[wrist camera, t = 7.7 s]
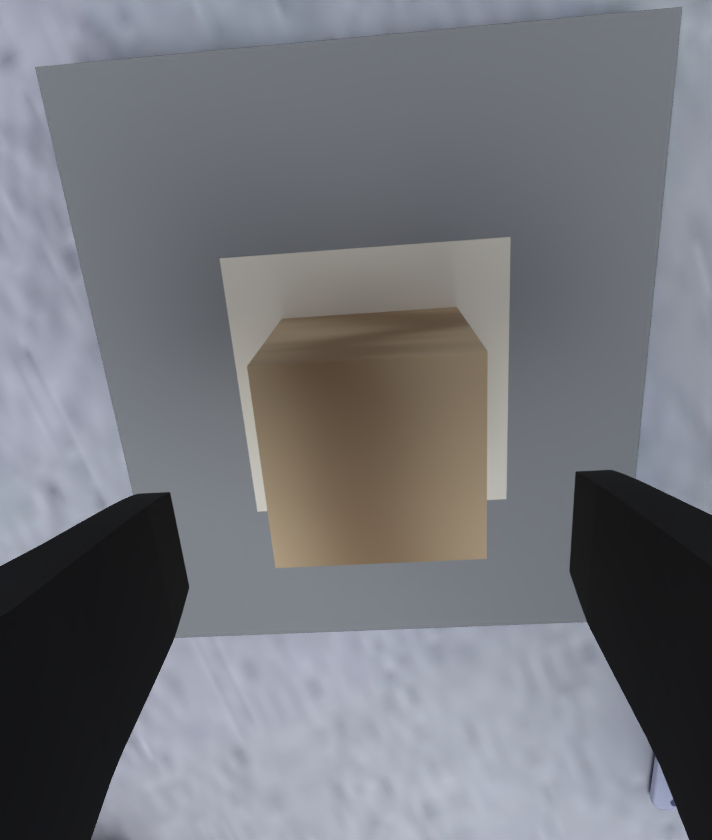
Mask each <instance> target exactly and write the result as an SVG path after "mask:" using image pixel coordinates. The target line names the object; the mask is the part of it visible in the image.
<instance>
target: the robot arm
mask: <svg viewBox="0 0 712 840" xmlns="http://www.w3.org/2000/svg"><path fill="white" fill-rule="evenodd" d="M569 572H570V575H571V578H572V581H573V584H574V587H575V590H576V593H577V596H578V599H579V602H580V604H581V607H582V610H583V613H584V615H585V618H586V621H587V623H588V625H589V627H590V629H591V631H592V633H593V635H594V637H595V639H596V641H597V643H598V645H599V647H600V649H601V651H602V652H603V654H604V656H605V658H606V660H607V662H608V664H609V666H610V668H611V670H612V672H613V674H614V676H615V678H616V680H617V681H618V683H619V685H620V687H621V689H622V691H623V693H624V695H625V697H626V699H627V701H628V703H629V704H630V706H631V708H632V710H633V712H634V714H635V716H636V718H637V720H638V722H639V724H640V726H641V728H642V729H643V731H644V733H645V735H646V737H647V739H648V741H649V744H650V746H651V748H652V750H653V752H654V754H655V761H654V768H653V776H652V783H651V790H650V799H651V801H652V803H653V805H654V806H655V807H656V808H658V809H661V810H676V809H677V810H678V812H679V815H680V817H681V820H682V822H683V825H684V827H685V830H686V832H687V835H688V838H689V840H712V515H710V514H708V513H706V512H704V511H702V510H700V509H698V508H695V507H693V506H691V505H689V504H687V503H685V502H683V501H681V500H679V499H677V498H675V497H672V496H670V495H668V494H666V493H664V492H662V491H660V490H658V489H656V488H654V487H652V486H650V485H648V484H645V483H643V482H641V481H639V480H637V479H634V478H632V477H630V476H628V475H625V474H623V473H620V472H617V471H614V470H595V471H576V472H575V487H574V504H573V520H572V536H571V552H570V568H569ZM188 591H189V582H188V578H187V573H186V568H185V563H184V558H183V553H182V548H181V543H180V538H179V533H178V528H177V523H176V518H175V513H174V508H173V504H172V499H171V494H170V492H161V493H141V494H135V495H133V496H130V497H128V498H125V499H123V500H121V501H119V502H117V503H115V504H113V505H111V506H109V507H108V508H106V509H104V510H102V511H100V512H98V513H97V514H95V515H93V516H91V517H90V518H88V519H86V520H84V521H82V522H81V523H79V524H77V525H75V526H74V527H72V528H70V529H68V530H67V531H65V532H63V533H61V534H59V535H58V536H56V537H54V538H52V539H51V540H49V541H47V542H45V543H43V544H42V545H40V546H38V547H36V548H34V549H32V550H30V551H28V552H26V553H25V554H23V555H21V556H19V557H17V558H15V559H13V560H11V561H9V562H7V563H6V564H4V565H2V566H0V840H91V837H92V834H93V831H94V828H95V825H96V823H97V820H98V817H99V814H100V811H101V808H102V805H103V802H104V799H105V796H106V793H107V790H108V788H109V785H110V782H111V779H112V776H113V774H114V772H115V769H116V767H117V764H118V762H119V759H120V757H121V755H122V752H123V750H124V748H125V745H126V743H127V741H128V739H129V737H130V735H131V732H132V730H133V728H134V726H135V724H136V722H137V719H138V717H139V715H140V713H141V711H142V709H143V706H144V704H145V702H146V700H147V698H148V696H149V693H150V691H151V689H152V687H153V685H154V683H155V680H156V678H157V676H158V674H159V672H160V669H161V667H162V665H163V663H164V660H165V658H166V656H167V654H168V652H169V649H170V647H171V645H172V642H173V640H174V638H175V635H176V632H177V629H178V626H179V622H180V619H181V616H182V613H183V609H184V605H185V602H186V598H187V594H188Z"/></svg>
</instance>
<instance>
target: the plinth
mask: <svg viewBox="0 0 712 840" xmlns="http://www.w3.org/2000/svg"><path fill="white" fill-rule="evenodd" d="M681 15H682V7H676V8H665V9H654V10H643V11H633V12H622V13H611V14H601V15H590V16H579V17H568V18H558V19H547V20H536V21H525V22H515V23H504V24H493V25H483V26H472V27H461V28H450V29H440V30H429V31H418V32H407V33H397V34H386V35H375V36H364V37H354V38H343V39H332V40H322V41H311V42H300V43H289V44H279V45H268V46H257V47H246V48H236V49H225V50H214V51H204V52H193V53H182V54H171V55H161V56H150V57H139V58H128V59H118V60H107V61H96V62H85V63H75V64H64V65H53V66H43V67H35V69H36V73H37V78H38V82H39V87H40V91H41V95H42V100H43V104H44V108H45V113H46V117H47V121H48V126H49V130H50V134H51V139H52V143H53V148H54V152H55V156H56V161H57V165H58V169H59V174H60V178H61V182H62V187H63V191H64V195H65V200H66V204H67V209H68V213H69V217H70V222H71V226H72V230H73V235H74V239H75V243H76V248H77V252H78V256H79V261H80V265H81V269H82V274H83V278H84V283H85V287H86V291H87V296H88V300H89V304H90V309H91V313H92V317H93V322H94V326H95V330H96V335H97V339H98V344H99V348H100V352H101V357H102V361H103V365H104V370H105V374H106V378H107V383H108V387H109V391H110V396H111V400H112V405H113V409H114V413H115V418H116V422H117V426H118V431H119V435H120V439H121V444H122V448H123V452H124V457H125V461H126V465H127V470H128V474H129V479H130V483H131V487H132V492H133V495H135V494H141V493H161V492H170V494H171V499H172V504H173V508H174V513H175V518H176V523H177V528H178V533H179V538H180V543H181V548H182V553H183V558H184V563H185V568H186V573H187V578H188V582H189V591H188V594H187V598H186V602H185V605H184V609H183V613H182V616H181V619H180V622H179V626H178V629H177V632H176V635H175V638H185V637H210V636H236V635H262V634H287V633H313V632H339V631H365V630H390V629H416V628H442V627H467V626H493V625H519V624H545V623H570V622H587V621H586V618H585V615H584V613H583V610H582V607H581V604H580V602H579V599H578V596H577V593H576V590H575V587H574V584H573V581H572V578H571V575H570V572H569V568H570V552H571V536H572V520H573V504H574V487H575V472H576V471H595V470H614V471H617V472H620V473H623V474H625V475H628V476H630V477H632V478H634V479H635V476H636V466H637V456H638V446H639V436H640V426H641V416H642V406H643V396H644V386H645V376H646V366H647V356H648V346H649V336H650V326H651V316H652V306H653V296H654V286H655V276H656V266H657V256H658V246H659V236H660V226H661V216H662V206H663V196H664V185H665V175H666V165H667V155H668V145H669V135H670V125H671V115H672V105H673V95H674V85H675V75H676V65H677V55H678V45H679V35H680V25H681ZM450 307H457V308H458V309H459V311H460V312H461V314H462V315H463V316H464V318H465V319H466V321H467V322H468V324H469V325H470V327H471V328H472V329H473V331H474V332H475V334H476V335H477V337H478V338H479V340H480V341H481V342H482V344H483V345H484V347H485V348H486V350H487V351H488V374H487V559H474V560H451V561H428V562H405V563H383V564H360V565H337V566H315V567H292V568H275V561H274V554H273V547H272V540H271V533H270V526H269V519H268V512H267V505H266V498H265V491H264V484H263V477H262V470H261V463H260V456H259V448H258V441H257V434H256V427H255V420H254V413H253V406H252V399H251V392H250V385H249V378H248V371H247V365H248V364H249V363H250V361H251V360H252V359H253V357H254V356H255V355H256V353H257V352H258V350H259V349H260V348H261V346H262V345H263V344H264V342H265V341H266V340H267V338H268V337H269V335H270V334H271V333H272V331H273V330H274V329H275V327H276V326H277V324H278V323H279V322H280V320H281V319H286V318H301V317H316V316H331V315H345V314H360V313H375V312H390V311H405V310H420V309H435V308H450Z"/></svg>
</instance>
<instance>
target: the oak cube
mask: <svg viewBox="0 0 712 840" xmlns="http://www.w3.org/2000/svg"><path fill="white" fill-rule="evenodd" d="M247 371H248V378H249V385H250V392H251V399H252V406H253V413H254V420H255V427H256V434H257V441H258V448H259V456H260V463H261V470H262V477H263V484H264V491H265V498H266V505H267V512H268V519H269V526H270V533H271V540H272V547H273V554H274V561H275V568H292V567H315V566H337V565H360V564H383V563H405V562H428V561H451V560H474V559H487V374H488V351H487V350H486V348H485V347H484V345H483V344H482V342H481V341H480V340H479V338H478V337H477V335H476V334H475V332H474V331H473V329H472V328H471V327H470V325H469V324H468V322H467V321H466V319H465V318H464V316H463V315H462V314H461V312H460V311H459V309H458V308H457V307H450V308H435V309H420V310H405V311H390V312H375V313H360V314H345V315H331V316H316V317H301V318H286V319H281V320H280V322H279V323H278V324H277V326H276V327H275V329H274V330H273V331H272V333H271V334H270V335H269V337H268V338H267V340H266V341H265V342H264V344H263V345H262V346H261V348H260V349H259V350H258V352H257V353H256V355H255V356H254V357H253V359H252V360H251V361H250V363H249V364H248V365H247Z"/></svg>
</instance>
